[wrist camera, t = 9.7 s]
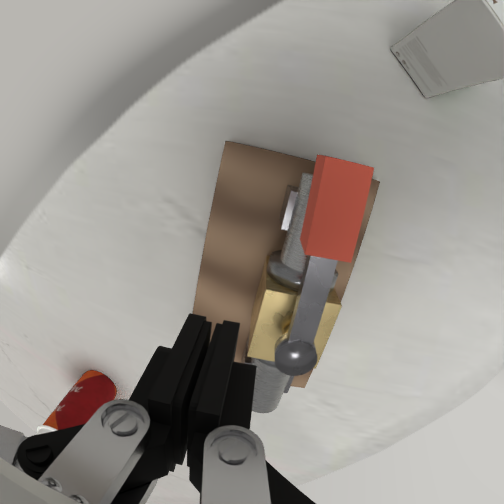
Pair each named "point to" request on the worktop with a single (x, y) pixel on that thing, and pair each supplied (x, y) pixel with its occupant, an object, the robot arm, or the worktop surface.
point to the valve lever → (323, 253)
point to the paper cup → (80, 402)
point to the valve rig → (263, 260)
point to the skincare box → (455, 47)
